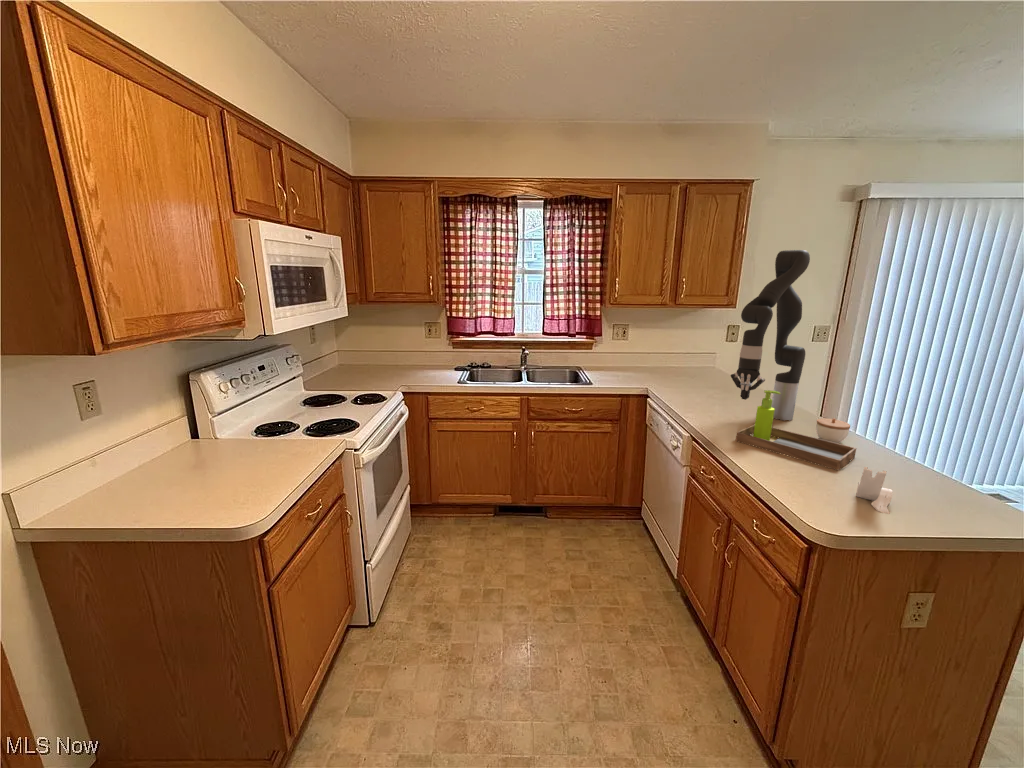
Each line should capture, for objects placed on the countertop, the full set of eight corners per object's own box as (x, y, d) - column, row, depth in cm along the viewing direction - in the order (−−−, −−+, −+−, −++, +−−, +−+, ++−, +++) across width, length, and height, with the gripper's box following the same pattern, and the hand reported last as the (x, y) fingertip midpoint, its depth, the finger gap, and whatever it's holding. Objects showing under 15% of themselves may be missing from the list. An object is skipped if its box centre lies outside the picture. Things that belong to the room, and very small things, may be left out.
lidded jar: (839, 438, 177) (844, 415, 175) (851, 447, 167) (856, 424, 165) (809, 435, 180) (813, 413, 178) (819, 444, 170) (823, 421, 168)
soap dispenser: (774, 443, 170) (782, 393, 165) (754, 441, 172) (761, 391, 168) (770, 438, 176) (778, 389, 171) (751, 436, 178) (758, 388, 173)
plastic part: (888, 501, 127) (897, 463, 124) (890, 514, 119) (900, 475, 117) (856, 493, 131) (864, 456, 129) (855, 505, 124) (864, 467, 121)
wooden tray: (755, 431, 183) (756, 423, 183) (854, 457, 158) (856, 448, 157) (735, 440, 172) (736, 432, 172) (838, 470, 147) (840, 460, 146)
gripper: (772, 358, 171) (765, 401, 175) (737, 353, 180) (732, 394, 185) (764, 360, 166) (757, 404, 170) (729, 355, 176) (723, 396, 180)
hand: (744, 399), depth 177 cm, fingers closed
